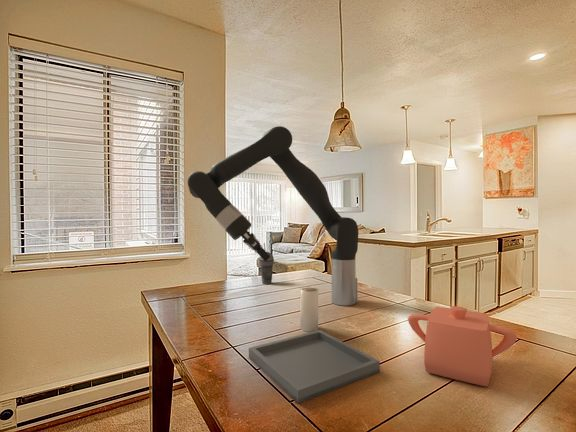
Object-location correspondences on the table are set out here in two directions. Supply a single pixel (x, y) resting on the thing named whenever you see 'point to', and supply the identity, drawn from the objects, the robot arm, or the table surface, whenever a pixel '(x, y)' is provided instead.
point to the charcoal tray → (312, 364)
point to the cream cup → (309, 309)
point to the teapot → (460, 343)
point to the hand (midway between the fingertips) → (267, 259)
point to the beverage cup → (266, 268)
